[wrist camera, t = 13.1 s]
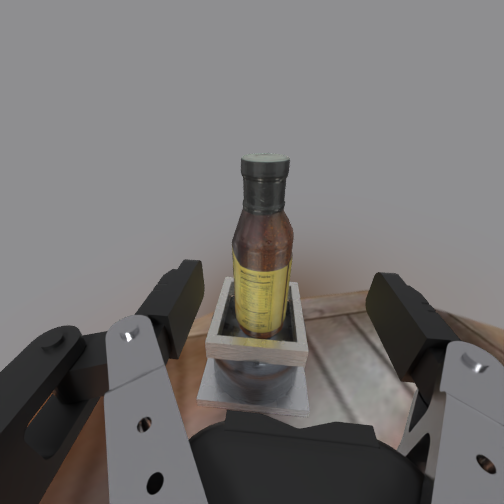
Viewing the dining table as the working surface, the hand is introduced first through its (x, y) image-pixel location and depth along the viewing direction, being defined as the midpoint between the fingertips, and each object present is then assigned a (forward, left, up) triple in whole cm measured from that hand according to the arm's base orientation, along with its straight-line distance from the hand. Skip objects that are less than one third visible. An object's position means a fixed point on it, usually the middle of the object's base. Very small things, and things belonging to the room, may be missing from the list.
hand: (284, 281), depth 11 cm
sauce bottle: (+1, -12, -16) cm, 20 cm away
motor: (+1, -12, -25) cm, 28 cm away
